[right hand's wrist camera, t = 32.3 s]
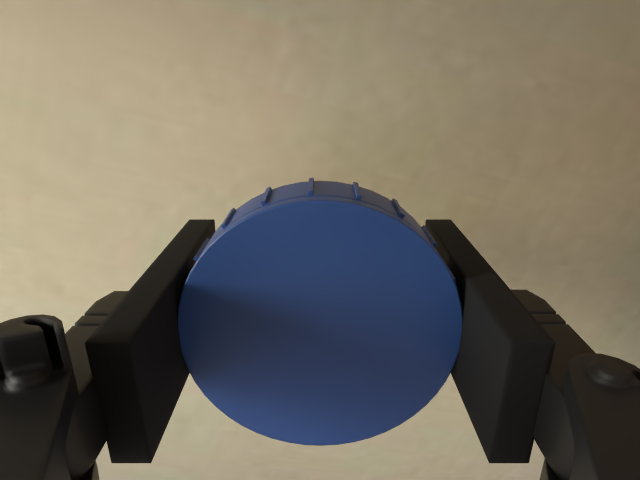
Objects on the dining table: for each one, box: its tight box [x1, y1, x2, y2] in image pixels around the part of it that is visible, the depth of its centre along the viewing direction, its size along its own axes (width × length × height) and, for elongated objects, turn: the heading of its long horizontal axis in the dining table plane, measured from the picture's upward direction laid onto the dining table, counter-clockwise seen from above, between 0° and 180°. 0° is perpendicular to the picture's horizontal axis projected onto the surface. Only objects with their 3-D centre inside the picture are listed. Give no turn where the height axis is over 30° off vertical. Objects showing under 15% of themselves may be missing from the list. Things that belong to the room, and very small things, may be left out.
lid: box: [178, 178, 463, 446], centre depth 11 cm, size 7×7×2 cm
